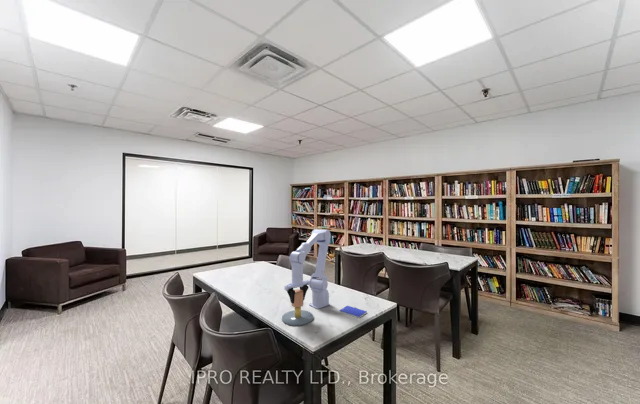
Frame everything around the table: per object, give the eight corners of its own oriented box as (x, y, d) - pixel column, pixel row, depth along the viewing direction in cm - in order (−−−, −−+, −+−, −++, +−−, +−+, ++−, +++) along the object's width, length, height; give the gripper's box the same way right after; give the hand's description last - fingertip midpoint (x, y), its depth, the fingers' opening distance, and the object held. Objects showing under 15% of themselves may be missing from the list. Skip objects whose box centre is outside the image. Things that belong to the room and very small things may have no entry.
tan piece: (298, 301, 137) (298, 288, 137) (305, 305, 132) (305, 291, 132) (289, 304, 133) (289, 291, 133) (296, 308, 128) (296, 294, 128)
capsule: (298, 314, 135) (298, 305, 135) (302, 316, 132) (302, 306, 132) (293, 316, 133) (293, 306, 133) (297, 318, 130) (297, 308, 130)
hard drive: (339, 310, 140) (359, 316, 132) (347, 305, 147) (367, 310, 139) (339, 312, 140) (359, 319, 132) (347, 308, 147) (367, 313, 139)
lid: (301, 309, 144) (301, 307, 144) (319, 319, 132) (319, 317, 132) (276, 317, 133) (276, 315, 133) (293, 329, 121) (293, 327, 121)
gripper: (289, 279, 125) (290, 307, 125) (313, 273, 134) (313, 299, 134) (282, 276, 130) (282, 303, 130) (305, 271, 140) (305, 296, 140)
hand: (297, 301), depth 133 cm, fingers closed on tan piece, 6 cm apart
